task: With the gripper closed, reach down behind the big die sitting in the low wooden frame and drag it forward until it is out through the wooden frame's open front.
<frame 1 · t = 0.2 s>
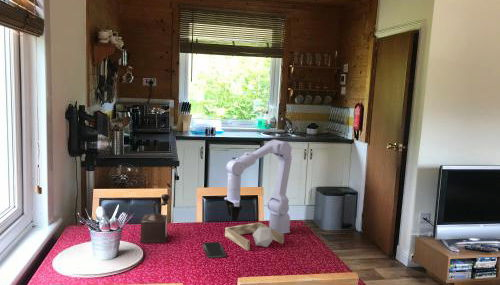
hand: (232, 218, 180), 10 cm above the table, tool pointing down, fingers open, 7 cm apart
phone: (214, 251, 168), on the table
die: (262, 245, 177), on the table
wooden frame: (253, 239, 183), on the table
coffee grinder box: (155, 237, 180), on the table
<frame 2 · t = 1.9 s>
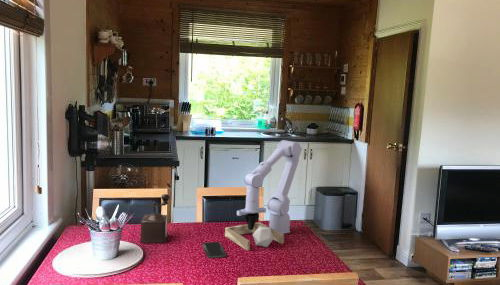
hand: (250, 229, 185), 4 cm above the table, tool pointing down, fingers closed
nothing on the table moved.
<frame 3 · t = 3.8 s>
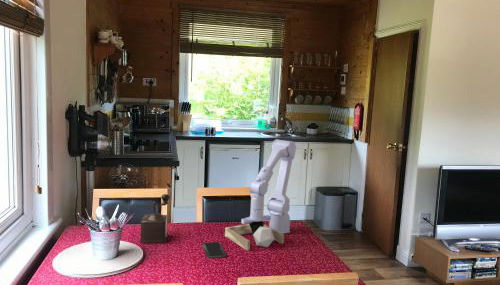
hand: (255, 237, 182), 1 cm above the table, tool pointing down, fingers closed
die: (263, 245, 177), on the table, touching gripper
everything else where it was.
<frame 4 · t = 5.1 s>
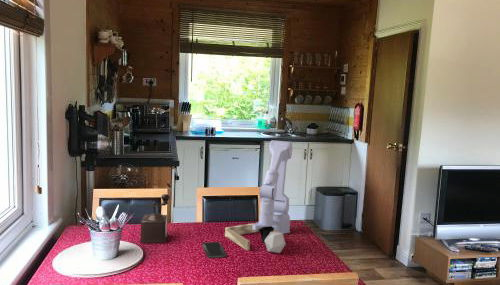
hand: (264, 243, 176), 1 cm above the table, tool pointing down, fingers closed
die: (274, 251, 171), on the table, touching gripper
everything else where it was.
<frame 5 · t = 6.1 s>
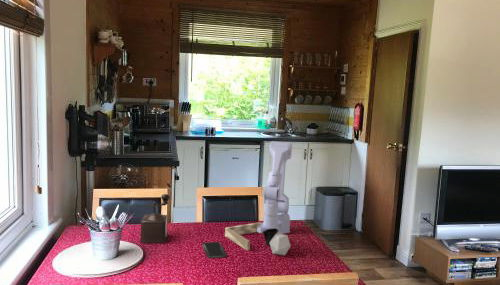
hand: (268, 245, 173), 1 cm above the table, tool pointing down, fingers closed
die: (279, 253, 169), on the table, touching gripper
everything else where it was.
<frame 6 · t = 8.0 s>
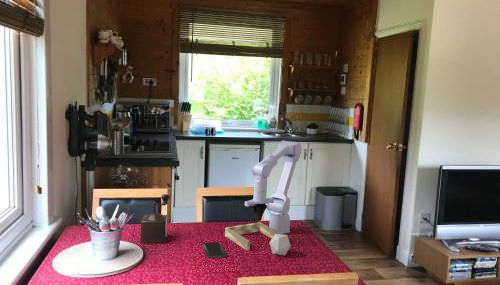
hand: (258, 220, 181), 9 cm above the table, tool pointing down, fingers closed
die: (279, 253, 169), on the table
everything else where it was.
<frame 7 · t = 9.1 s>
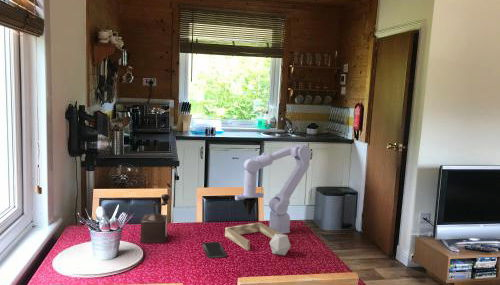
hand: (248, 213, 190), 9 cm above the table, tool pointing down, fingers closed
nothing on the table moved.
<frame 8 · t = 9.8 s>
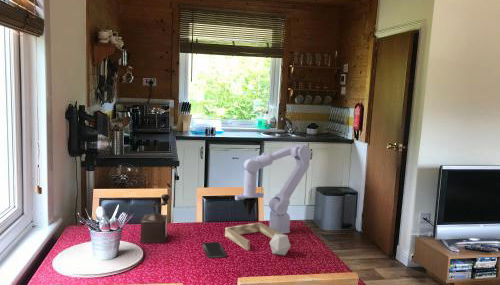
hand: (248, 213, 190), 9 cm above the table, tool pointing down, fingers closed
nothing on the table moved.
at the end: die inside the target area (3.6 cm from its centre), on the table; die tilted 0°; the gripper is holding nothing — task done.
